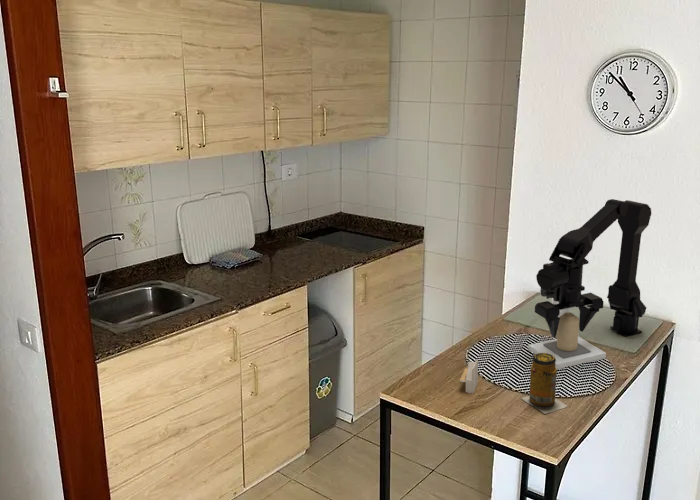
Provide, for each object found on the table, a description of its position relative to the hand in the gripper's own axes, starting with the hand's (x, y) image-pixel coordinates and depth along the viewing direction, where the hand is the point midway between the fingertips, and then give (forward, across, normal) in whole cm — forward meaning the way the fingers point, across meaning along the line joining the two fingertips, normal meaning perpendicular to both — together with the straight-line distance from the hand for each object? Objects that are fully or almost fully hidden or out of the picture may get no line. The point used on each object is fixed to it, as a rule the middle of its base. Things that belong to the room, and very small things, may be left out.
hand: (567, 334), depth 181 cm
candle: (+4, 0, 0) cm, 4 cm away
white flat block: (+6, 0, 0) cm, 6 cm away
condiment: (+6, +21, +19) cm, 29 cm away
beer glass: (+6, -13, -20) cm, 25 cm away
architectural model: (+7, +33, +6) cm, 34 cm away
